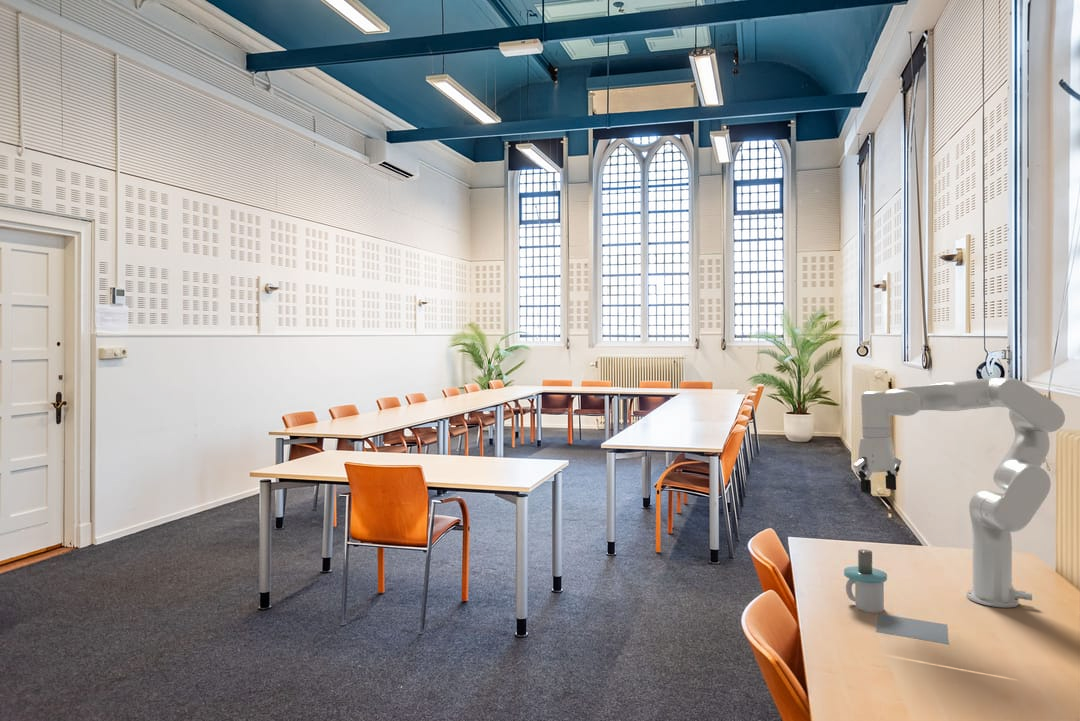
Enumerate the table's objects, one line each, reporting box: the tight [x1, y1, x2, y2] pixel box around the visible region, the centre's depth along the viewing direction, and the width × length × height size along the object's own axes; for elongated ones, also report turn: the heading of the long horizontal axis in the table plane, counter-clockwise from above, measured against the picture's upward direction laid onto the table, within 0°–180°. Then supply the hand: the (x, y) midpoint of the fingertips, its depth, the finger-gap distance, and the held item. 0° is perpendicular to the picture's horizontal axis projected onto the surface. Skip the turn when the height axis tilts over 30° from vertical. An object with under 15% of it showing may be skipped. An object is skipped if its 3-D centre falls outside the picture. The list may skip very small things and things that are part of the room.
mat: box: [875, 613, 950, 645], centre depth 177 cm, size 16×14×1 cm
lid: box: [843, 549, 888, 583], centre depth 192 cm, size 11×11×7 cm
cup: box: [845, 578, 885, 614], centre depth 192 cm, size 7×10×9 cm
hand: (878, 491), depth 200 cm, fingers open, 9 cm apart
